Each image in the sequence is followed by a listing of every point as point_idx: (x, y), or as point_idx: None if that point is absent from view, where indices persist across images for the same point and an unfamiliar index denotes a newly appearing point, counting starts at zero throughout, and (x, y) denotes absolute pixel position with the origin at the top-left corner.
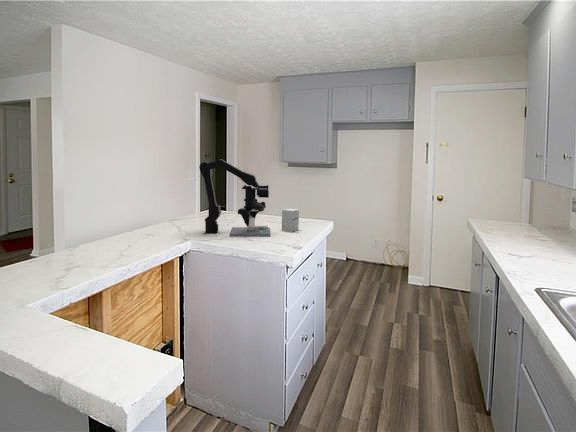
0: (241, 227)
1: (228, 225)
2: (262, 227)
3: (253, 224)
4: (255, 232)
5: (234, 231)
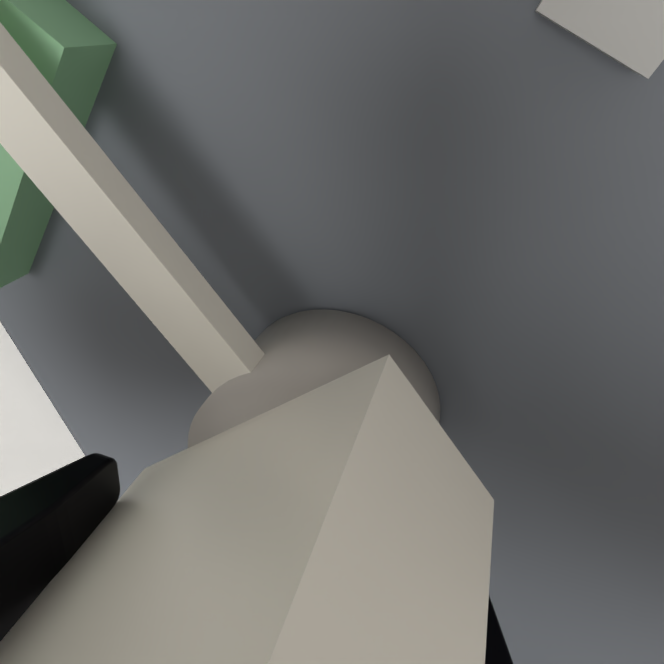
0: None
1: None
2: None
3: (397, 457)
4: (574, 226)
5: (531, 660)
